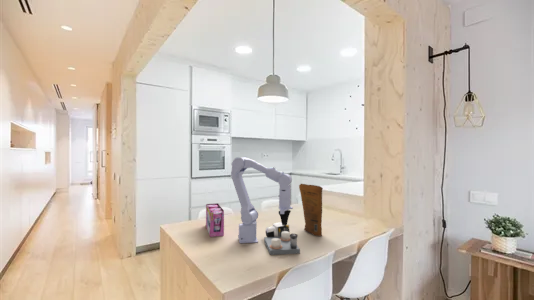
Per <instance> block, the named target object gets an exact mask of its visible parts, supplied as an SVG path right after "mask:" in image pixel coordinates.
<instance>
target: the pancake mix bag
mask: <svg viewBox="0 0 534 300" xmlns="http://www.w3.org/2000/svg"><path fill="white" fill-rule="evenodd" d="M298 187H299V188H298V189H299V192H300V198H301V203H302V211H303V218H304V219H303V220H304V223H305V225H304V229H303V231H304V232H307V233H309V234H312V235H314V236H316V237H323V233H322V232H323V229H322V220H323V219H322V218H323V187H322V186H319V185H315V184H307V183H306V184H305V183H300V184H299V185H298Z"/></svg>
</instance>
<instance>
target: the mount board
mask: <svg viewBox="0 0 534 300" xmlns="http://www.w3.org/2000/svg"><path fill="white" fill-rule="evenodd" d="M273 238H279V239H281V237H267V236H265V237H263V239H264V240H263V242H264V244H265V246H266V248H267V252H268V253H269V256H274V255H292V254H293V255H294V254H295V255H296V254H300V253H301V248H300V246H298V245H297V248H296V249H292V248H290V239H289V240H283V239H281V247H279V248H273V247H272V246H271V239H273Z"/></svg>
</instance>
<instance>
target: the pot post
mask: <svg viewBox="0 0 534 300" xmlns="http://www.w3.org/2000/svg"><path fill="white" fill-rule="evenodd" d="M297 246H298V234H296V233H290V248H292V249H296V248H297Z"/></svg>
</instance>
